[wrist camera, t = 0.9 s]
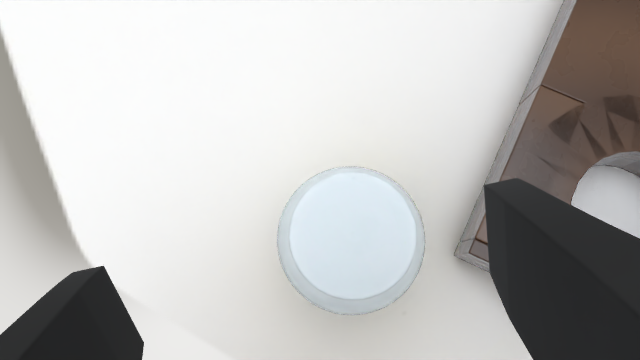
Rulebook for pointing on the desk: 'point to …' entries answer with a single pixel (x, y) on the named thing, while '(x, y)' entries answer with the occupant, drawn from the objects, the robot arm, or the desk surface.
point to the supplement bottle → (351, 240)
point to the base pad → (571, 110)
